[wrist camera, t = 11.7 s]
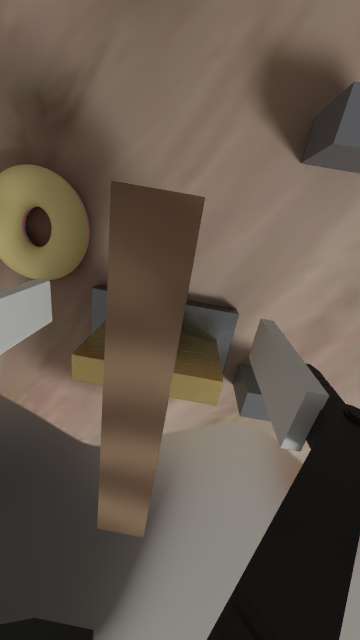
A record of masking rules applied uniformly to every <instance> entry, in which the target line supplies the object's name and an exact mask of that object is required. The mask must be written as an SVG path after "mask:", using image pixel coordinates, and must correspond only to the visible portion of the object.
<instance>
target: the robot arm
mask: <svg viewBox="0 0 360 640" xmlns="http://www.w3.org/2000/svg"><path fill="white" fill-rule="evenodd" d="M50 322H52V307H51V291H50V281H49V280H44V279H38V278H37V279H34V280H31V281H28V282H25V283H22V284H19V285H16V286H13V287H10V288H7V289H4V290H1V291H0V355H1V354H2V353H4V352H5V351H7V350H8V349H10V348H12V347H13V346H15V345H16V344H18V343H19V342H21V341H22V340H24V339H26V338H27V337H29V336H30V335H32V334H33V333H35V332H36V331H38V330H39V329H41V328H43V327H44V326H46V325H47V324H49V323H50ZM249 360H250V363H251V366H252V369H253V371H254V374H255V377H256V380H257V383H258V386H259V388H260V391H261V394H262V397H263V400H264V402H265V405H266V408H267V411H268V414H269V417H270V419H271V422H272V425H273V428H274V431H275V433H276V436H277V439H278V442H279V445H280V448H285V449H290V450H295V451H301V449H302V447H303V445H304V443H305V441H306V440H307V443H308V445H309V447H310V449H311V451H310V453H309V454H308V456H307V458H306V460H305V462H304V463H303V466H302V468H301V469H300V471H299V473H298V474H297V476H296V478H295V480H294V482H293V484H292V486H291V487H290V489H289V491H288V493H287V495H286V496H285V498H284V500H283V502H282V504H281V505H280V507H279V509H278V511H277V513H276V515H275V516H274V518H273V520H272V522H271V524H270V525H269V527H268V529H267V531H266V533H265V535H264V536H263V538H262V540H261V542H260V544H259V546H258V547H257V549H256V551H255V553H254V555H253V556H252V559H251V560H250V562H249V564H248V566H247V567H246V569H245V571H244V573H243V575H242V576H241V578H240V580H239V582H238V584H237V586H236V588H235V590H234V591H233V593H232V595H231V597H230V599H229V600H228V602H227V604H226V606H225V607H224V610H223V611H222V613H221V615H220V617H219V618H218V621H217V622H216V624H215V626H214V628H213V629H212V631H211V633H210V635H209V637H208V639H207V640H339V637H340V632H341V627H342V622H343V617H344V612H345V607H346V602H347V597H348V592H349V587H350V582H351V577H352V572H353V567H354V561H355V557H356V552H357V547H358V541H359V537H360V409H359V408H356V407H354V406H352V405H348V404H345V403H344V401H343V400H342V399H341V398H340V396H339V395H338V394H337V393H336V391H335V390H334V389H333V388H332V386H330V384H329V383H328V382H327V380H325V378H324V377H323V375H322V374H321V373H320V372H319V371H318V370H317V369H316V368H314V367H313V366H312V365H310V364H305V362H304V361H303V360H302V358H301V357H300V356H299V354H298V353H297V352H296V350H295V349H294V348H293V346H292V345H291V344H290V342H289V341H288V340H287V338H286V337H285V336H284V334H283V333H282V332H281V330H280V329H279V328H278V326H277V325H276V324H275V322H274V321H271V320H266V319H261V320H260V323H259V326H258V329H257V332H256V335H255V338H254V341H253V345H252V348H251V351H250V354H249ZM0 640H93V630H91V629H86V628H81V627H76V626H71V625H66V624H61V623H57V622H52V621H47V620H42V619H38V618H33V619H27V620H22V621H17V622H11V623H6V624H1V625H0Z"/></svg>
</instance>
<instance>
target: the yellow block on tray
mask: <svg viewBox="0 0 360 640" xmlns="http://www.w3.org/2000/svg"><path fill="white" fill-rule="evenodd" d="M106 305H107V286H103V285H96V286H94V287H93V288H92V301H91V335H90V336H89V337H88V338H87V339H86V340H85V341H84V342H83V343H82V344H81V345H80V346H79V347H78V348H77V349H76V350H75V351H74V352H73V353H72V354H71V358H72V380H77V381H83V382H88V383H94V384H99V385H103V379H104V354H105V329H106ZM238 316H239V313H238V311H237V309H232V308H227V307H221V306H215V305H210V304H204V303H198V302H193V301H187V300H186V306H185V311H184V317H183V322H182V328H181V333H180V339H179V344H178V350H177V355H176V361H175V366H174V372H173V377H172V383H171V388H170V394H169V397H171V398H176V399H182V400H187V401H193V402H198V403H204V404H209V405H215V406H217V402H218V399H219V395H220V392H221V388H222V385H223V377H222V373H223V370H224V366H225V362H226V359H227V355H228V352H229V348H230V344H231V341H232V337H233V334H234V330H235V326H236V323H237V319H238Z"/></svg>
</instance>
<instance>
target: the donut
mask: <svg viewBox="0 0 360 640" xmlns="http://www.w3.org/2000/svg"><path fill="white" fill-rule="evenodd" d="M34 207H41V208H43V209H44V210H45V211H46V213H47V214H48V216H49V218H50V221H51V226H52V232H51V237H50V239H49V241H48V243H47V244H46V245H45V246H43V247H38V246H36V245H34V244H33V243H32V242H31V240H30V239H29V237H28V235H27V231H26V218H27V215H28V213H29V212H30V210H31V209H33V208H34ZM89 238H90V227H89V220H88V215H87V212H86V209H85V207H84V204H83V202H82V200H81V199H80V197H79V195H78V194H77V192H76V191H75V190H74V188H73V187H72V186H71V185H70V184H69V183H68V182H67V181H66V180H65V179H64V178H62V177H61V176H60V175H58V174H56V173H55V172H53V171H51V170H49V169H47V168H44V167H41V166H37V165H28V164H24V165H16V166H13V167H10V168H8V169H6V170H4V171H2V172H1V173H0V259H1V260H2V261H3V262H4V263H5V264H6V265H7V266H8V267H10V268H11V269H12V270H14V271H15V272H17V273H19V274H21V275H23V276H25V277H28V278H31V279H37V278H38V279H44V280H54V279H58V278H61V277H63V276H65V275H67V274H69V273H71V272H72V271H73V270H74V269H75V268H76V267H77V266H78V265H79V264H80V263H81V261H82V260H83V258H84V256H85V254H86V251H87V248H88V244H89Z"/></svg>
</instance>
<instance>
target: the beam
mask: <svg viewBox="0 0 360 640" xmlns="http://www.w3.org/2000/svg"><path fill="white" fill-rule="evenodd" d="M204 201H205V197H201V196H195V195H190V194H184V193H178V192H172V191H167V190H161V189H155V188H150V187H144V186H138V185H132V184H127V183H121V182H115V181H112V182H111V206H110V231H109V255H108V280H107V305H106V329H105V354H104V379H103V403H102V428H101V453H100V477H99V503H98V529H103V530H108V531H113V532H119V533H124V534H129V535H135V536H140V537H143V536H144V532H145V526H146V521H147V515H148V510H149V504H150V499H151V493H152V487H153V482H154V476H155V471H156V465H157V460H158V454H159V449H160V443H161V438H162V432H163V427H164V421H165V416H166V410H167V405H168V399H169V394H170V388H171V383H172V377H173V372H174V366H175V361H176V355H177V350H178V344H179V339H180V333H181V328H182V322H183V317H184V311H185V306H186V300H187V294H188V289H189V283H190V278H191V272H192V267H193V261H194V256H195V250H196V245H197V239H198V234H199V228H200V223H201V217H202V212H203V206H204Z"/></svg>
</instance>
